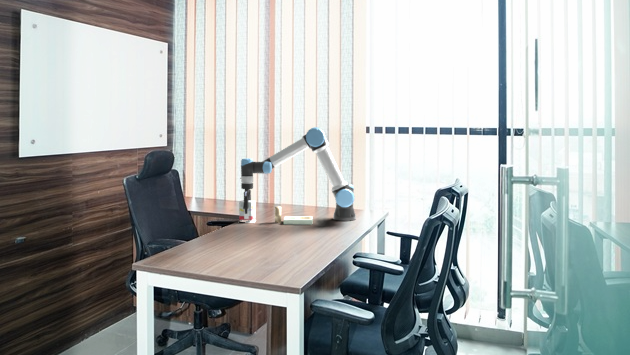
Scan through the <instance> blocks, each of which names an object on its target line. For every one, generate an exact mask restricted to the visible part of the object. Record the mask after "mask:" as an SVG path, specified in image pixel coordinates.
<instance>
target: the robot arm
mask: <svg viewBox="0 0 630 355" xmlns="http://www.w3.org/2000/svg"><path fill="white" fill-rule="evenodd" d="M307 149H308V150H311V151H312V152H313V153H314V154H316V156H317V158H318V160H319V162H320V165H321V167H322V169H323V170H324V173H325V174H326V177H327V179H328V181H329V183H330V185H331V193H332V194H333V197H334V199H335V208H334V211H333V215H332V219H333V220H335V221H339V222H340V221H343V222H345V221H347V222H348V221H350V220H351V221H355V220H356V219H357V215H356V211H355V209H354V202H355V194H354V193H355V192H354V189H355V187H354V185H353V184H349V182H347V181H345V179H344V177H343V175H342V173H341V170H340V169H339V166H338V164H337V162H336V161H335V158H334V156H333V154H332V151H331V150H330V142H329V140H328V139H327V136H326V132H325V131H324V130H323V129H322V128H320V127H318V126H313V127H311V128H310V129H308V130H307V131H306V134H305V135H303V136H302V137H301V138H300V139H298V140H297V141H295V142H293V143H292V144H290V145H288V146H287V147H285V148H283V149H281V150H279V151H278V152H276V153H274V154H272V155H270V157H267V158H266V159H264V160H262V161H254V159H253V158H242V159H241V160H240V174H241V175H240V176H241V177H240V179H241V180H240V181H241V183H240V184H241V185H240V186H241V189H242V190H244V191H243V200H244V207H243V209H244V219H249V208H248V202H249V200H251V201H252V191H251V190H253V189H254V183H253V182H254V174H266V175H267V174H271V173H272V171H273V169H274V168H276V167H278V166H280V165H281V164H283V163H285V162H286V161H288V160H290V159H291V158H294V157H295V156H297V155H298V154H300V153H302V152H304V151H306V150H307ZM351 221H350V222H351Z"/></svg>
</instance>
